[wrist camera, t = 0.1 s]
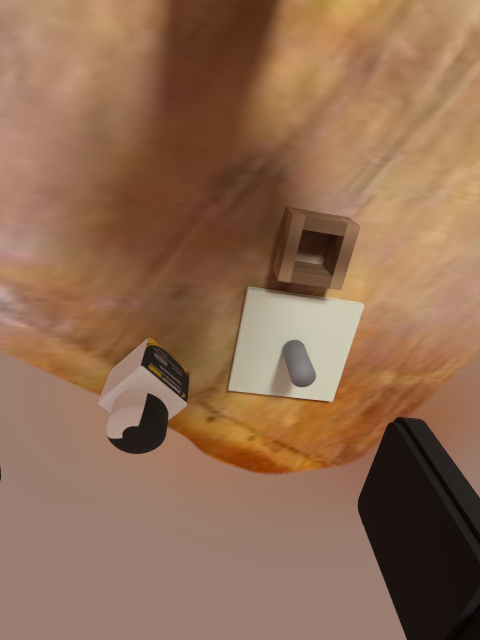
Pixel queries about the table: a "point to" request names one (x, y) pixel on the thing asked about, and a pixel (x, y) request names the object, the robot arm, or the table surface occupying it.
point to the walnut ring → (336, 255)
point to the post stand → (292, 344)
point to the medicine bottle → (143, 397)
